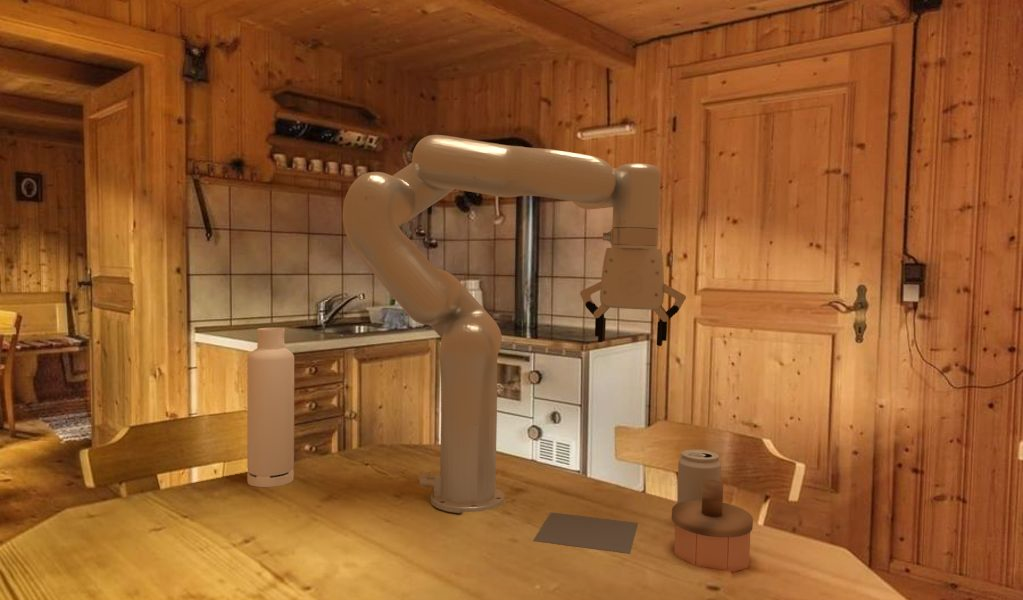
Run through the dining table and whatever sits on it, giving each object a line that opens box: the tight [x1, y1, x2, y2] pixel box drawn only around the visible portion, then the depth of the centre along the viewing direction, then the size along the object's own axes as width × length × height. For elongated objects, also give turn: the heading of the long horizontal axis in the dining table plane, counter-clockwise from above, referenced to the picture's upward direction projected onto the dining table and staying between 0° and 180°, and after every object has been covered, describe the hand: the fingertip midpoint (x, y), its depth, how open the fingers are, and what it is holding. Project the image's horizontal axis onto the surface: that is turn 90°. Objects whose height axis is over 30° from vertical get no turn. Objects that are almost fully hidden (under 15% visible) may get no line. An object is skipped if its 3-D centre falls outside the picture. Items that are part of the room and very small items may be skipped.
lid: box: [671, 480, 754, 537], centre depth 98 cm, size 11×11×6 cm
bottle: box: [246, 327, 295, 488], centre depth 127 cm, size 8×8×28 cm
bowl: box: [673, 523, 751, 573], centre depth 98 cm, size 10×10×5 cm
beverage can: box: [676, 449, 722, 504], centre depth 108 cm, size 6×6×12 cm
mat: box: [532, 512, 639, 555], centre depth 105 cm, size 14×12×1 cm
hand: (630, 343), depth 115 cm, fingers open, 9 cm apart
